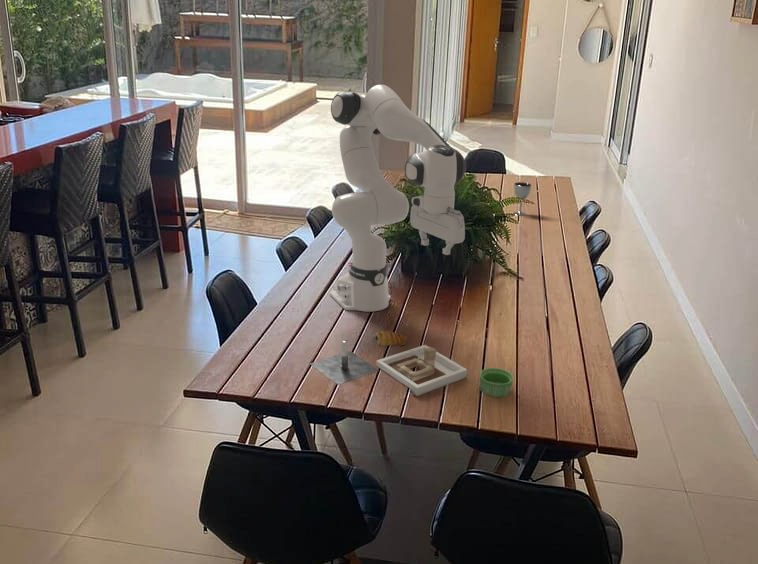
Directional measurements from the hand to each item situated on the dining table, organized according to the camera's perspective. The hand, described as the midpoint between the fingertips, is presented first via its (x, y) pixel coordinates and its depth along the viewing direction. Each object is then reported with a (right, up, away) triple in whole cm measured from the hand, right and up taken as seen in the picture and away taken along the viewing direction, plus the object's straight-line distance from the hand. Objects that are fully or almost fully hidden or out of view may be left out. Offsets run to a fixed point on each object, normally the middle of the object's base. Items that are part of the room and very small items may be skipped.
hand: (435, 249), depth 207 cm
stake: (-26, -34, -9) cm, 44 cm away
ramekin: (+15, -39, -16) cm, 44 cm away
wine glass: (+53, +24, +145) cm, 157 cm away
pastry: (-14, -28, +7) cm, 32 cm away
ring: (-5, -34, -10) cm, 36 cm away
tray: (-5, -35, -9) cm, 36 cm away
